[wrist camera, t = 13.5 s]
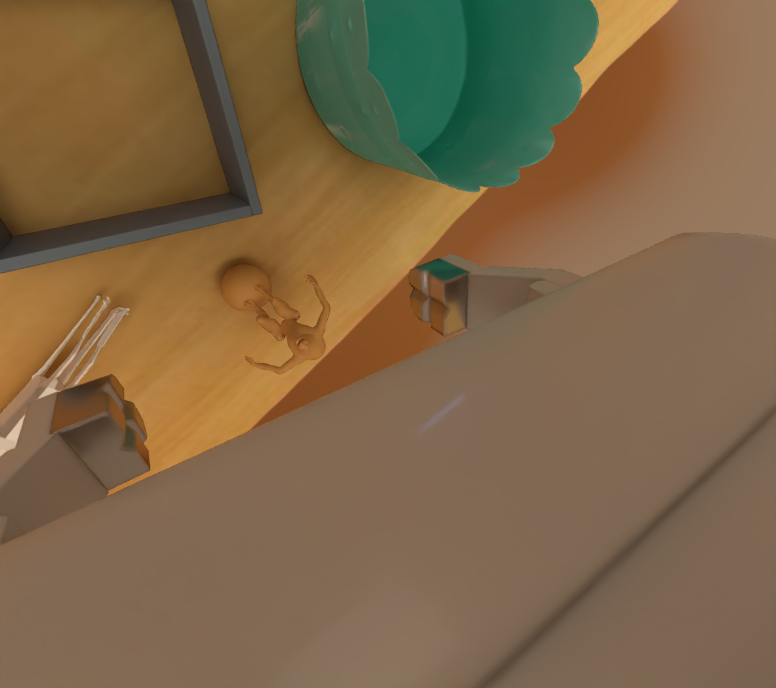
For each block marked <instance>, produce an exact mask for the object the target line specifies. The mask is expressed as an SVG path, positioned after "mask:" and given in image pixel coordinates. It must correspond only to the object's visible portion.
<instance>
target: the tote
mask: <svg viewBox="0 0 776 688" xmlns="http://www.w3.org/2000/svg"><path fill="white" fill-rule="evenodd" d="M172 3H173V6H174V10H175V13H176V16H177V20H178V23H179V26H180V29H181V33H182V36H183V39H184V42H185V46H186V49H187V52H188V56H189V59H190V62H191V65H192V69H193V72H194V75H195V78H196V82H197V85H198V88H199V92H200V95H201V98H202V101H203V105H204V108H205V111H206V114H207V118H208V121H209V124H210V128H211V131H212V134H213V137H214V141H215V144H216V147H217V150H218V154H219V157H220V160H221V164H222V167H223V170H224V173H225V177H226V180H227V183H228V186H229V190H230V193H228V194H223V195H218V196H213V197H208V198H203V199H198V200H193V201H188V202H183V203H178V204H173V205H168V206H163V207H158V208H153V209H148V210H143V211H138V212H133V213H128V214H123V215H119V216H114V217H109V218H104V219H99V220H94V221H89V222H84V223H79V224H74V225H69V226H64V227H59V228H54V229H49V230H44V231H39V232H34V233H29V234H24V235H19V236H14V237H12V236H11V234H10V233H9V231H8V230H7V228H6V226H5V225H4V223H3V222H2V220H1V219H0V273H5V272H9V271H14V270H18V269H22V268H27V267H31V266H35V265H40V264H44V263H49V262H53V261H57V260H62V259H66V258H70V257H75V256H79V255H83V254H88V253H92V252H97V251H101V250H105V249H110V248H114V247H118V246H123V245H127V244H131V243H136V242H140V241H144V240H149V239H153V238H158V237H162V236H166V235H171V234H175V233H179V232H184V231H188V230H192V229H197V228H201V227H206V226H210V225H214V224H219V223H223V222H227V221H232V220H236V219H240V218H245V217H249V216H253V215H258V214H262V208H261V204H260V201H259V197H258V193H257V190H256V186H255V182H254V178H253V175H252V171H251V167H250V163H249V160H248V156H247V152H246V149H245V145H244V141H243V137H242V134H241V130H240V126H239V123H238V119H237V115H236V111H235V108H234V104H233V100H232V96H231V93H230V89H229V85H228V82H227V78H226V74H225V70H224V67H223V63H222V59H221V55H220V52H219V48H218V44H217V41H216V37H215V33H214V29H213V26H212V22H211V18H210V14H209V11H208V7H207V3H206V0H172Z"/></svg>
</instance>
